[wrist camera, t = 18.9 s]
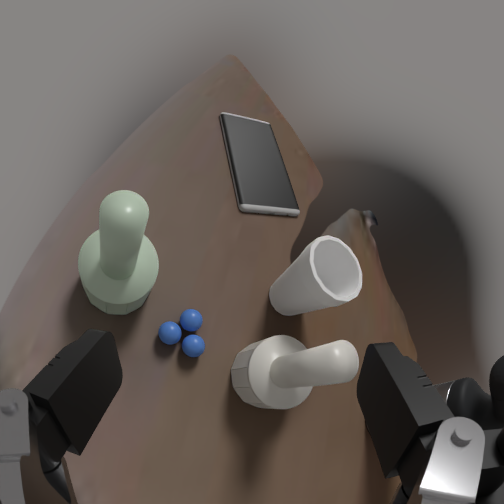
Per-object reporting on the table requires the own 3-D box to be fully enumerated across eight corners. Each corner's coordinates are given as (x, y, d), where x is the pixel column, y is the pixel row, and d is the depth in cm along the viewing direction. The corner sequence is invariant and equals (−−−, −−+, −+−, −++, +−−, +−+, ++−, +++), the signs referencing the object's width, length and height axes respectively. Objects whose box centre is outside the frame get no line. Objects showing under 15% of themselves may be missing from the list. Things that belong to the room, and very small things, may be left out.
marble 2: (191, 308, 39) (197, 302, 37) (202, 326, 39) (209, 321, 36) (173, 318, 37) (178, 313, 35) (185, 337, 37) (191, 333, 35)
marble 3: (193, 332, 38) (199, 328, 35) (205, 350, 37) (212, 348, 35) (175, 343, 36) (180, 340, 34) (187, 362, 36) (193, 360, 33)
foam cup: (290, 336, 44) (347, 316, 34) (249, 296, 44) (297, 263, 34) (316, 297, 50) (369, 270, 40) (280, 260, 50) (327, 224, 40)
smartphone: (237, 213, 51) (241, 208, 50) (217, 115, 61) (220, 110, 60) (297, 218, 58) (302, 214, 56) (267, 126, 68) (270, 122, 66)
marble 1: (170, 320, 37) (175, 315, 35) (182, 338, 37) (188, 335, 34) (152, 330, 35) (155, 326, 33) (164, 350, 35) (169, 347, 33)
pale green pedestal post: (131, 236, 40) (150, 155, 26) (164, 295, 38) (200, 237, 25) (71, 263, 34) (55, 186, 20) (102, 328, 32) (95, 287, 19)
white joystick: (266, 330, 43) (343, 296, 30) (301, 380, 42) (386, 365, 28) (216, 367, 37) (283, 352, 24) (257, 421, 36) (340, 430, 22)
